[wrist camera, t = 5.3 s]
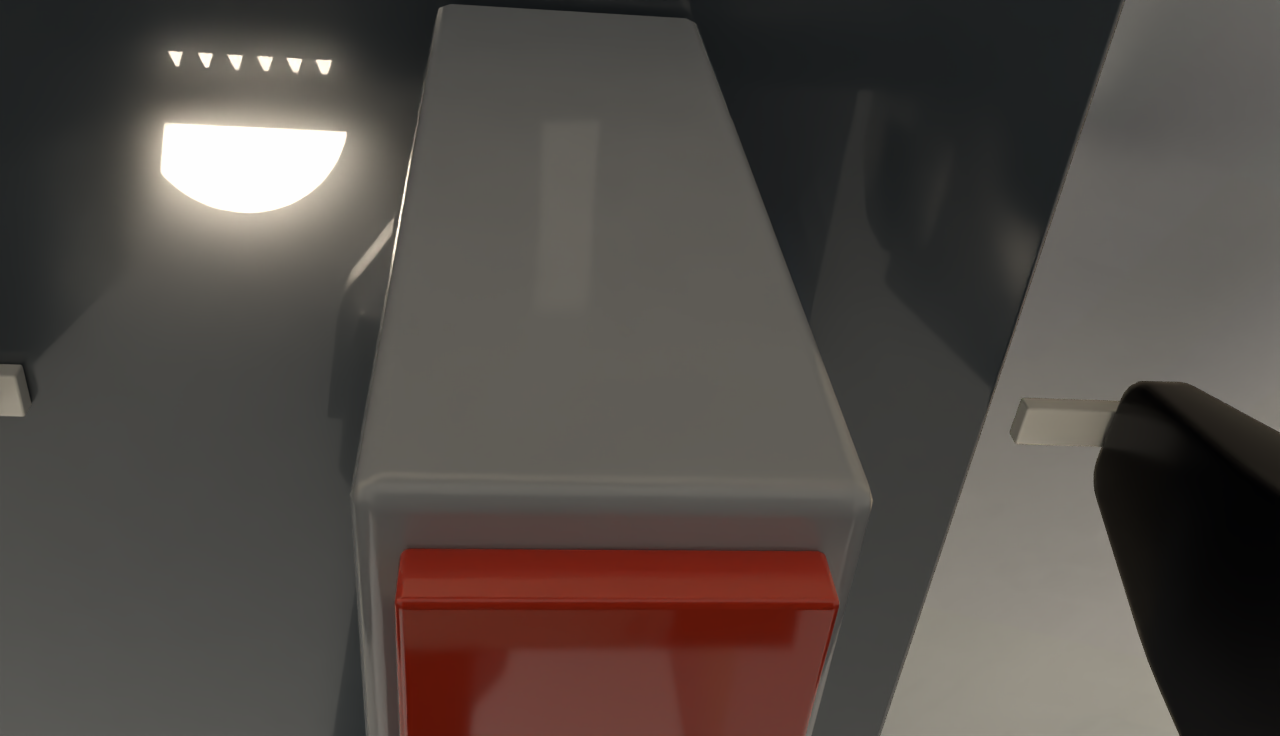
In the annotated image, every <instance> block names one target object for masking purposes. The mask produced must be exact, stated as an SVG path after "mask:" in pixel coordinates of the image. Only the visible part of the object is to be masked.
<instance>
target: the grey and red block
mask: <svg viewBox="0 0 1280 736" xmlns="http://www.w3.org/2000/svg"><path fill="white" fill-rule="evenodd" d="M872 503H873V499H872V495H871V491H870V487H869V484H868V481H867V478H866V476H865V473H864V470H863V468H862V465H861V462H860V460H859V457H858V454H857V452H856V449H855V446H854V444H853V441H852V438H851V436H850V433H849V430H848V428H847V425H846V422H845V420H844V417H843V414H842V412H841V409H840V406H839V404H838V401H837V398H836V396H835V393H834V390H833V388H832V385H831V382H830V380H829V377H828V374H827V372H826V369H825V366H824V364H823V361H822V358H821V355H820V353H819V350H818V347H817V345H816V342H815V339H814V337H813V334H812V331H811V329H810V326H809V323H808V321H807V318H806V315H805V313H804V310H803V307H802V305H801V302H800V299H799V297H798V294H797V291H796V289H795V286H794V283H793V281H792V278H791V275H790V273H789V270H788V267H787V265H786V262H785V259H784V257H783V254H782V251H781V249H780V246H779V243H778V241H777V238H776V235H775V233H774V230H773V227H772V225H771V222H770V219H769V216H768V214H767V211H766V208H765V206H764V203H763V200H762V198H761V195H760V192H759V190H758V187H757V184H756V182H755V179H754V176H753V174H752V171H751V168H750V166H749V163H748V160H747V158H746V155H745V152H744V150H743V147H742V144H741V142H740V139H739V136H738V134H737V131H736V128H735V126H734V123H733V120H732V118H731V115H730V112H729V110H728V107H727V104H726V102H725V99H724V96H723V94H722V91H721V88H720V86H719V83H718V80H717V77H716V75H715V72H714V69H713V67H712V64H711V61H710V59H709V56H708V53H707V51H706V48H705V45H704V43H703V40H702V37H701V35H700V32H699V29H698V27H697V24H696V23H694V22H692V21H690V20H688V19H686V18H672V17H655V16H639V15H622V14H606V13H589V12H573V11H556V10H540V9H524V8H507V7H491V6H474V5H458V4H449V5H446V6H443V7H440V8H439V10H438V12H437V14H436V17H435V19H434V25H433V31H432V36H431V42H430V47H429V53H428V59H427V64H426V70H425V76H424V81H423V87H422V92H421V98H420V104H419V109H418V115H417V120H416V126H415V132H414V137H413V143H412V148H411V154H410V160H409V165H408V171H407V176H406V182H405V188H404V193H403V199H402V205H401V210H400V216H399V221H398V227H397V233H396V238H395V244H394V249H393V255H392V261H391V266H390V272H389V277H388V283H387V289H386V294H385V300H384V306H383V311H382V317H381V322H380V328H379V334H378V339H377V345H376V350H375V356H374V362H373V367H372V373H371V378H370V384H369V390H368V395H367V401H366V407H365V412H364V418H363V423H362V429H361V435H360V440H359V446H358V451H357V457H356V463H355V468H354V474H353V479H352V485H351V491H350V506H351V521H352V536H353V551H354V565H355V580H356V595H357V610H358V625H359V640H360V655H361V670H362V685H363V700H364V715H365V730H366V736H811V735H812V732H813V728H814V724H815V720H816V717H817V713H818V709H819V705H820V701H821V698H822V694H823V690H824V686H825V682H826V679H827V675H828V671H829V667H830V663H831V660H832V656H833V652H834V648H835V644H836V641H837V637H838V633H839V629H840V626H841V622H842V618H843V614H844V610H845V607H846V603H847V599H848V595H849V591H850V588H851V584H852V580H853V576H854V572H855V569H856V565H857V561H858V557H859V554H860V550H861V546H862V542H863V538H864V535H865V531H866V527H867V523H868V519H869V516H870V511H871V507H872Z"/></svg>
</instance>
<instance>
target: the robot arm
mask: <svg viewBox="0 0 1280 736" xmlns="http://www.w3.org/2000/svg"><path fill="white" fill-rule="evenodd" d="M1094 491H1095V495H1096V499H1097V502H1098V506H1099V509H1100V512H1101V515H1102V518H1103V522H1104V525H1105V528H1106V531H1107V534H1108V538H1109V541H1110V544H1111V547H1112V551H1113V554H1114V557H1115V560H1116V563H1117V567H1118V570H1119V573H1120V576H1121V580H1122V583H1123V586H1124V589H1125V592H1126V596H1127V599H1128V602H1129V605H1130V609H1131V612H1132V615H1133V618H1134V621H1135V625H1136V628H1137V631H1138V634H1139V637H1140V640H1141V643H1142V646H1143V648H1144V651H1145V654H1146V657H1147V660H1148V662H1149V665H1150V667H1151V670H1152V672H1153V675H1154V677H1155V680H1156V682H1157V685H1158V687H1159V690H1160V692H1161V694H1162V696H1163V699H1164V701H1165V703H1166V706H1167V708H1168V710H1169V713H1170V715H1171V717H1172V719H1173V722H1174V724H1175V726H1176V729H1177V731H1178V733H1179V735H1180V736H1280V432H1278V431H1276V430H1274V429H1272V428H1270V427H1269V426H1267V425H1265V424H1263V423H1261V422H1259V421H1257V420H1256V419H1254V418H1252V417H1250V416H1248V415H1246V414H1245V413H1243V412H1241V411H1239V410H1237V409H1235V408H1233V407H1232V406H1230V405H1228V404H1226V403H1224V402H1222V401H1220V400H1219V399H1217V398H1215V397H1213V396H1211V395H1209V394H1207V393H1206V392H1204V391H1202V390H1200V389H1198V388H1196V387H1195V386H1193V385H1190V384H1188V383H1183V382H1162V381H1139V382H1137V383H1135V384H1133V385H1131V386H1130V387H1129V388H1128V389H1127V390H1126V391H1125V392H1124V394H1123V396H1122V398H1121V400H1120V402H1119V405H1118V407H1117V410H1116V412H1115V415H1114V417H1113V420H1112V422H1111V425H1110V428H1109V430H1108V433H1107V435H1106V438H1105V440H1104V443H1103V445H1102V448H1101V450H1100V453H1099V455H1098V458H1097V461H1096V464H1095V469H1094Z"/></svg>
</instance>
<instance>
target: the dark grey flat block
mask: <svg viewBox="0 0 1280 736" xmlns="http://www.w3.org/2000/svg"><path fill="white" fill-rule="evenodd" d="M1124 2H1125V0H0V736H366V730H365V715H364V700H363V685H362V670H361V655H360V640H359V625H358V610H357V595H356V580H355V565H354V551H353V536H352V521H351V506H350V491H351V485H352V479H353V474H354V468H355V463H356V457H357V451H358V446H359V440H360V435H361V429H362V423H363V418H364V412H365V407H366V401H367V395H368V390H369V384H370V378H371V373H372V367H373V362H374V356H375V350H376V345H377V339H378V334H379V328H380V322H381V317H382V311H383V306H384V300H385V294H386V289H387V283H388V277H389V272H390V266H391V261H392V255H393V249H394V244H395V238H396V233H397V227H398V221H399V216H400V210H401V205H402V199H403V193H404V188H405V182H406V176H407V171H408V165H409V160H410V154H411V148H412V143H413V137H414V132H415V126H416V120H417V115H418V109H419V104H420V98H421V92H422V87H423V81H424V76H425V70H426V64H427V59H428V53H429V47H430V42H431V36H432V31H433V25H434V19H435V17H436V14H437V12H438V10H439V8H440V7H443V6H446V5H449V4H458V5H474V6H491V7H507V8H524V9H540V10H556V11H573V12H589V13H606V14H622V15H639V16H655V17H672V18H686V19H688V20H690V21H692V22H694V23H696V24H697V27H698V29H699V32H700V35H701V37H702V40H703V43H704V45H705V48H706V51H707V53H708V56H709V59H710V61H711V64H712V67H713V69H714V72H715V75H716V77H717V80H718V83H719V86H720V88H721V91H722V94H723V96H724V99H725V102H726V104H727V107H728V110H729V112H730V115H731V118H732V120H733V123H734V126H735V128H736V131H737V134H738V136H739V139H740V142H741V144H742V147H743V150H744V152H745V155H746V158H747V160H748V163H749V166H750V168H751V171H752V174H753V176H754V179H755V182H756V184H757V187H758V190H759V192H760V195H761V198H762V200H763V203H764V206H765V208H766V211H767V214H768V216H769V219H770V222H771V225H772V227H773V230H774V233H775V235H776V238H777V241H778V243H779V246H780V249H781V251H782V254H783V257H784V259H785V262H786V265H787V267H788V270H789V273H790V275H791V278H792V281H793V283H794V286H795V289H796V291H797V294H798V297H799V299H800V302H801V305H802V307H803V310H804V313H805V315H806V318H807V321H808V323H809V326H810V329H811V331H812V334H813V337H814V339H815V342H816V345H817V347H818V350H819V353H820V355H821V358H822V361H823V364H824V366H825V369H826V372H827V374H828V377H829V380H830V382H831V385H832V388H833V390H834V393H835V396H836V398H837V401H838V404H839V406H840V409H841V412H842V414H843V417H844V420H845V422H846V425H847V428H848V430H849V433H850V436H851V438H852V441H853V444H854V446H855V449H856V452H857V454H858V457H859V460H860V462H861V465H862V468H863V470H864V473H865V476H866V478H867V481H868V484H869V487H870V491H871V495H872V499H873V503H872V507H871V511H870V516H869V519H868V523H867V527H866V531H865V535H864V538H863V542H862V546H861V550H860V554H859V557H858V561H857V565H856V569H855V572H854V576H853V580H852V584H851V588H850V591H849V595H848V599H847V603H846V607H845V610H844V614H843V618H842V622H841V626H840V629H839V633H838V637H837V641H836V644H835V648H834V652H833V656H832V660H831V663H830V667H829V671H828V675H827V679H826V682H825V686H824V690H823V694H822V698H821V701H820V705H819V709H818V713H817V717H816V720H815V724H814V728H813V732H812V735H811V736H880V734H881V731H882V728H883V725H884V722H885V719H886V716H887V713H888V710H889V707H890V704H891V701H892V698H893V695H894V692H895V689H896V686H897V683H898V680H899V677H900V674H901V671H902V668H903V665H904V662H905V659H906V656H907V653H908V650H909V647H910V644H911V641H912V638H913V635H914V632H915V629H916V626H917V623H918V620H919V617H920V614H921V611H922V608H923V605H924V602H925V599H926V596H927V593H928V590H929V587H930V584H931V581H932V578H933V575H934V572H935V569H936V566H937V563H938V560H939V557H940V554H941V551H942V548H943V545H944V542H945V539H946V536H947V533H948V530H949V527H950V524H951V521H952V518H953V515H954V512H955V509H956V506H957V503H958V500H959V497H960V494H961V491H962V488H963V485H964V482H965V479H966V476H967V473H968V470H969V467H970V464H971V461H972V458H973V455H974V452H975V449H976V446H977V443H978V440H979V437H980V434H981V431H982V428H983V425H984V422H985V419H986V416H987V413H988V410H989V407H990V404H991V401H992V398H993V395H994V392H995V389H996V386H997V383H998V380H999V377H1000V374H1001V371H1002V368H1003V365H1004V362H1005V359H1006V356H1007V353H1008V350H1009V347H1010V344H1011V341H1012V338H1013V335H1014V332H1015V329H1016V326H1017V323H1018V320H1019V317H1020V314H1021V311H1022V308H1023V305H1024V302H1025V299H1026V296H1027V293H1028V290H1029V287H1030V284H1031V281H1032V278H1033V275H1034V272H1035V269H1036V266H1037V263H1038V260H1039V257H1040V254H1041V251H1042V248H1043V245H1044V242H1045V239H1046V236H1047V233H1048V230H1049V227H1050V224H1051V221H1052V218H1053V215H1054V212H1055V209H1056V206H1057V203H1058V200H1059V197H1060V194H1061V191H1062V188H1063V185H1064V182H1065V179H1066V176H1067V173H1068V170H1069V167H1070V164H1071V161H1072V158H1073V155H1074V152H1075V149H1076V146H1077V143H1078V140H1079V137H1080V134H1081V131H1082V128H1083V125H1084V122H1085V119H1086V116H1087V113H1088V110H1089V107H1090V104H1091V101H1092V98H1093V95H1094V92H1095V89H1096V86H1097V83H1098V80H1099V77H1100V74H1101V71H1102V68H1103V65H1104V62H1105V59H1106V56H1107V53H1108V50H1109V47H1110V44H1111V41H1112V38H1113V35H1114V32H1115V29H1116V26H1117V23H1118V20H1119V17H1120V14H1121V11H1122V8H1123V5H1124ZM1119 402H1120V401H1108V400H1078V399H1048V398H1022V399H1021V401H1020V404H1019V406H1018V409H1017V412H1016V415H1015V418H1014V421H1013V424H1012V426H1011V429H1010V435H1011V437H1012V438H1013V440H1014V442H1015V443H1016V444H1025V445H1061V446H1097V447H1102V445H1103V443H1104V440H1105V438H1106V435H1107V433H1108V430H1109V428H1110V425H1111V422H1112V420H1113V417H1114V415H1115V412H1116V410H1117V407H1118V405H1119Z"/></svg>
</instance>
